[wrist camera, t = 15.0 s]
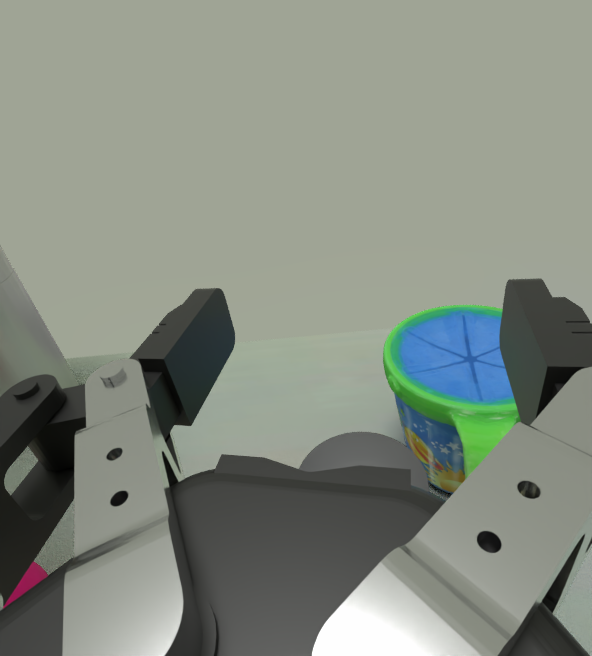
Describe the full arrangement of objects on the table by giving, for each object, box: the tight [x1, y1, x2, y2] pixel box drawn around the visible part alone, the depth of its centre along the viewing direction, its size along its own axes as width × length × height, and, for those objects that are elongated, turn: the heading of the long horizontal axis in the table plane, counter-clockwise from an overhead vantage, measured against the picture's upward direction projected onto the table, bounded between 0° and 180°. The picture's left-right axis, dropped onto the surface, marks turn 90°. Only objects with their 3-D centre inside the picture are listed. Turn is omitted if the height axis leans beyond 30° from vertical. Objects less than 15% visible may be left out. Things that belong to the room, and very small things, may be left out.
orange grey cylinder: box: [299, 432, 429, 492], centre depth 17 cm, size 4×4×14 cm
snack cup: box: [383, 305, 521, 494], centre depth 28 cm, size 16×10×10 cm
